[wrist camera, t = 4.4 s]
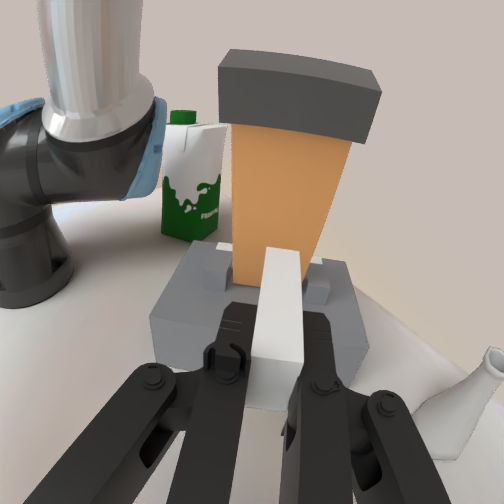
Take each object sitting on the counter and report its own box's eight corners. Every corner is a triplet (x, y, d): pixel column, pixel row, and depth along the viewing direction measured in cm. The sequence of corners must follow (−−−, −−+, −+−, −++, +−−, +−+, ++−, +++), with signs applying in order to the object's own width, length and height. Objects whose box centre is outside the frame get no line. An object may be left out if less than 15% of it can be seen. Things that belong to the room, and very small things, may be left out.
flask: (419, 393, 25) (467, 319, 20) (471, 416, 21) (527, 348, 16) (398, 446, 20) (461, 374, 15) (458, 471, 16) (532, 407, 11)
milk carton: (182, 216, 56) (186, 109, 47) (224, 228, 54) (234, 113, 44) (153, 234, 49) (153, 111, 39) (199, 248, 46) (206, 114, 37)
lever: (303, 297, 27) (382, 91, 11) (226, 287, 28) (217, 66, 11) (304, 273, 29) (371, 70, 12) (231, 263, 29) (230, 49, 12)
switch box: (346, 390, 25) (377, 329, 22) (156, 363, 26) (146, 296, 22) (333, 301, 38) (349, 246, 34) (193, 281, 38) (194, 224, 35)
